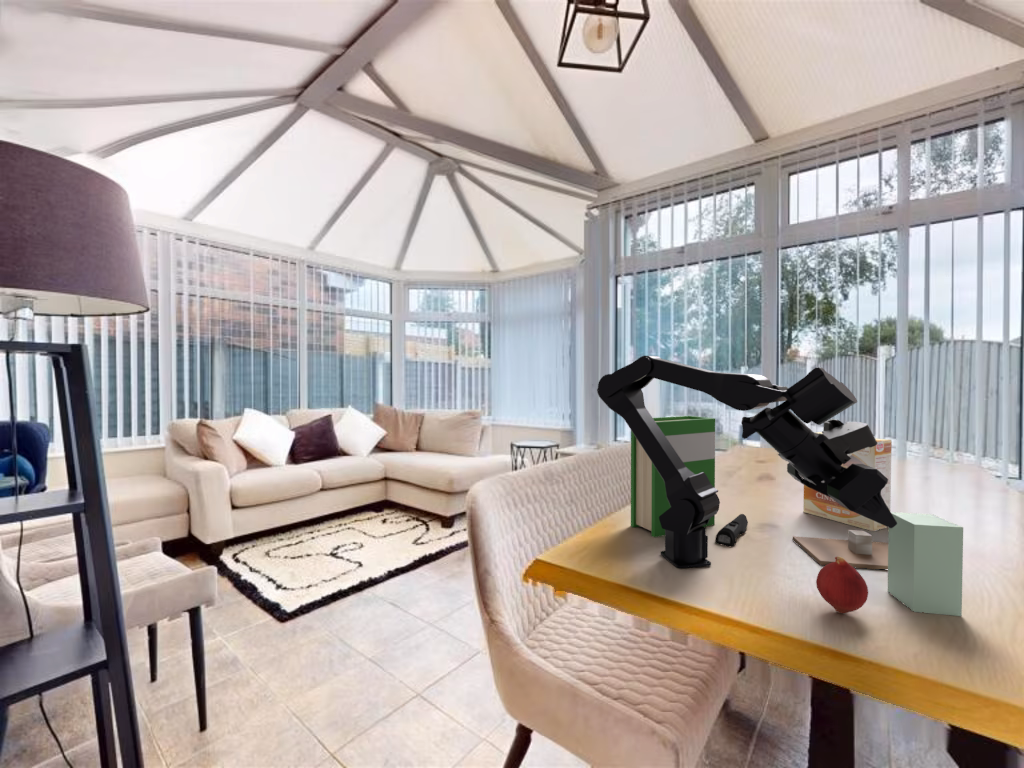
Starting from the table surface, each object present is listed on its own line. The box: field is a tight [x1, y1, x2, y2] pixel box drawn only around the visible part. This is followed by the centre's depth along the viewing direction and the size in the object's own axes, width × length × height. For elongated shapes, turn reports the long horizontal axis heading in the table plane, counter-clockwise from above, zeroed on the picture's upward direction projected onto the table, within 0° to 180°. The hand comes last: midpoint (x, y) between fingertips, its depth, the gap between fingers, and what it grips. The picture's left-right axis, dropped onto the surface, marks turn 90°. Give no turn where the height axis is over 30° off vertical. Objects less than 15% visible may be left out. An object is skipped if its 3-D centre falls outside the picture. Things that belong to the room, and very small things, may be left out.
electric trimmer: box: [714, 513, 749, 548], centre depth 93 cm, size 4×16×3 cm, turn 139°
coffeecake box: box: [802, 431, 892, 532], centre depth 102 cm, size 15×7×20 cm, turn 25°
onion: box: [815, 556, 869, 614], centre depth 62 cm, size 6×6×8 cm
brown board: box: [792, 529, 888, 570], centre depth 82 cm, size 18×12×4 cm, turn 78°
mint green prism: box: [887, 511, 964, 617], centre depth 65 cm, size 6×6×12 cm
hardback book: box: [630, 415, 716, 538], centre depth 98 cm, size 18×7×24 cm, turn 115°
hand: (874, 515), depth 66 cm, fingers open, 9 cm apart
